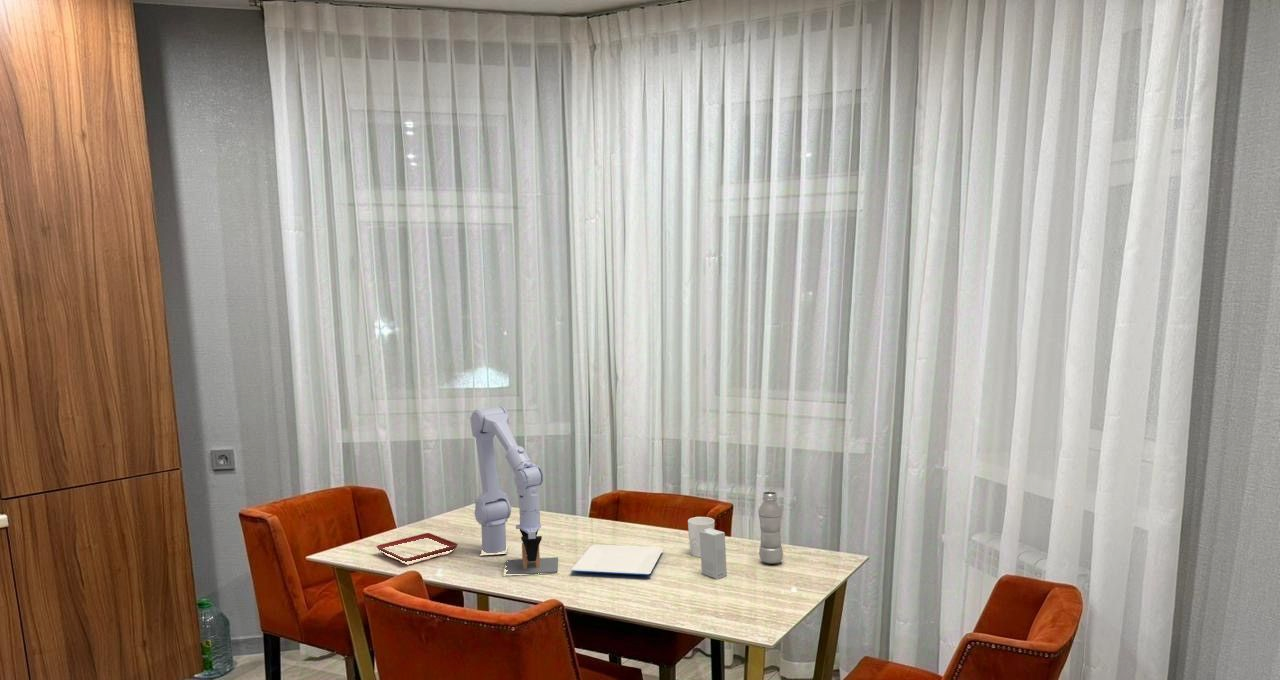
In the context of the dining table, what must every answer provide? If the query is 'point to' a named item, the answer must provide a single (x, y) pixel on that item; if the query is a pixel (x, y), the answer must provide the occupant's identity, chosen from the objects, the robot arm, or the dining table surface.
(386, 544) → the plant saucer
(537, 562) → the notched tan cube
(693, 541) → the white cup
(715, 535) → the skincare box
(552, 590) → the dining table surface
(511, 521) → the dining table surface
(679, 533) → the dining table surface
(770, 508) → the plastic bottle
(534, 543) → the robot arm
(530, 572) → the rubber mat
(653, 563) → the plate
